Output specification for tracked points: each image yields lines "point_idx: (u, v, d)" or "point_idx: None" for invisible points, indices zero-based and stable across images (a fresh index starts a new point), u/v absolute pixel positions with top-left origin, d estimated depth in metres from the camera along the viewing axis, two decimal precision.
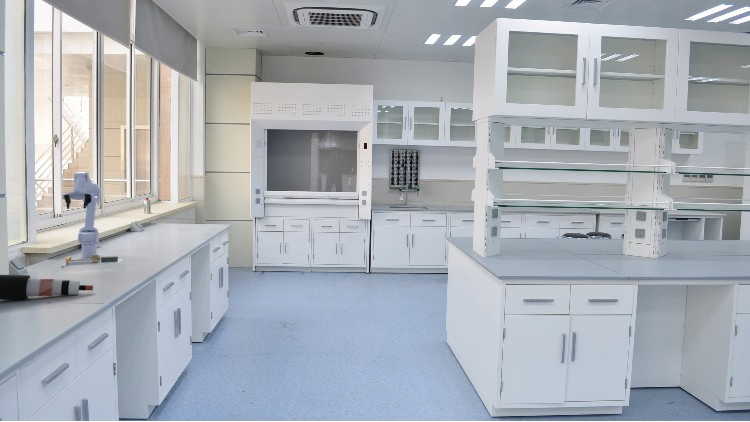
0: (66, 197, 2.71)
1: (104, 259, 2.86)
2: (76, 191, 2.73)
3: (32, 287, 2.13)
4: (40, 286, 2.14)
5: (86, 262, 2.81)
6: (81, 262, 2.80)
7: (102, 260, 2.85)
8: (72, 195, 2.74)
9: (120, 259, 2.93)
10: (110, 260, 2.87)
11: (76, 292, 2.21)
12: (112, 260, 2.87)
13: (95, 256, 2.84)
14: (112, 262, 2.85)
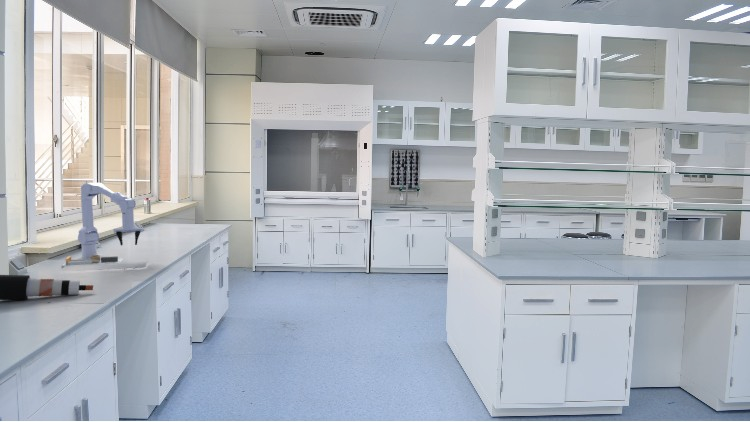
0: (119, 236, 2.86)
1: (104, 259, 2.86)
2: (126, 230, 2.86)
3: (32, 287, 2.13)
4: (40, 286, 2.14)
5: (86, 262, 2.81)
6: (81, 262, 2.80)
7: (102, 260, 2.85)
8: (123, 230, 2.87)
9: (120, 259, 2.93)
10: (110, 260, 2.87)
11: (76, 292, 2.21)
12: (112, 260, 2.87)
13: (95, 256, 2.84)
14: (112, 262, 2.85)
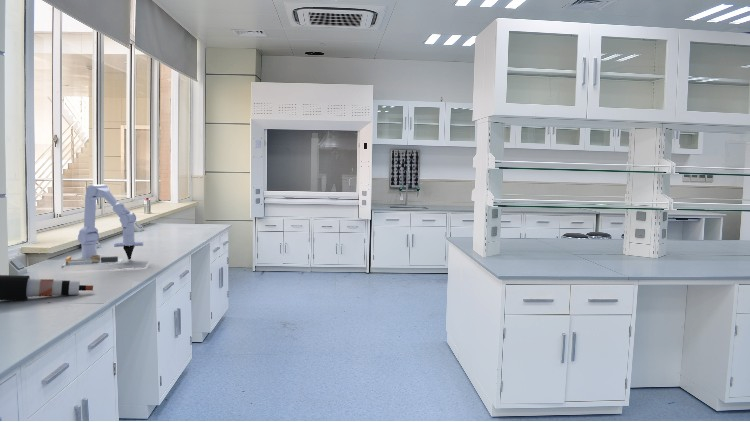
0: (126, 250, 2.88)
1: (104, 259, 2.86)
2: (127, 245, 2.87)
3: (32, 287, 2.12)
4: (40, 286, 2.14)
5: (86, 262, 2.81)
6: (81, 262, 2.80)
7: (102, 260, 2.85)
8: (123, 245, 2.88)
9: (120, 259, 2.93)
10: (110, 260, 2.87)
11: (76, 292, 2.21)
12: (112, 260, 2.87)
13: (95, 256, 2.84)
14: (112, 262, 2.85)
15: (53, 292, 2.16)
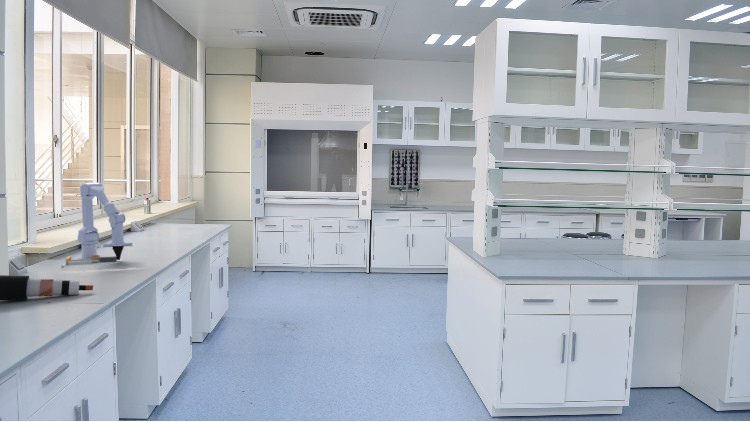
0: (115, 250, 2.86)
1: (103, 259, 2.85)
2: None
3: (32, 287, 2.12)
4: (40, 286, 2.14)
5: (86, 262, 2.81)
6: (81, 262, 2.80)
7: (101, 260, 2.85)
8: None
9: (120, 259, 2.93)
10: (109, 260, 2.86)
11: (76, 292, 2.21)
12: (111, 260, 2.87)
13: (95, 256, 2.84)
14: (112, 262, 2.85)
15: (53, 292, 2.16)
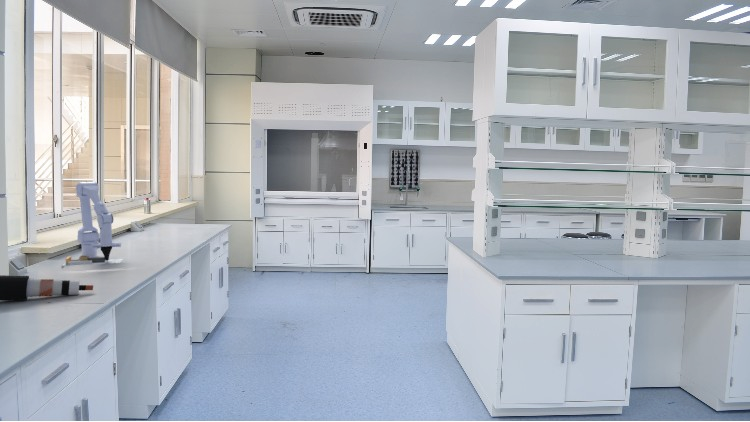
0: (103, 251, 2.84)
1: (91, 260, 2.84)
2: (104, 245, 2.83)
3: (32, 287, 2.12)
4: (40, 286, 2.14)
5: (86, 262, 2.81)
6: (81, 262, 2.80)
7: None
8: (101, 246, 2.85)
9: (120, 259, 2.93)
10: (97, 261, 2.85)
11: (76, 292, 2.21)
12: (99, 261, 2.85)
13: (84, 256, 2.82)
14: (112, 262, 2.85)
15: (53, 292, 2.16)
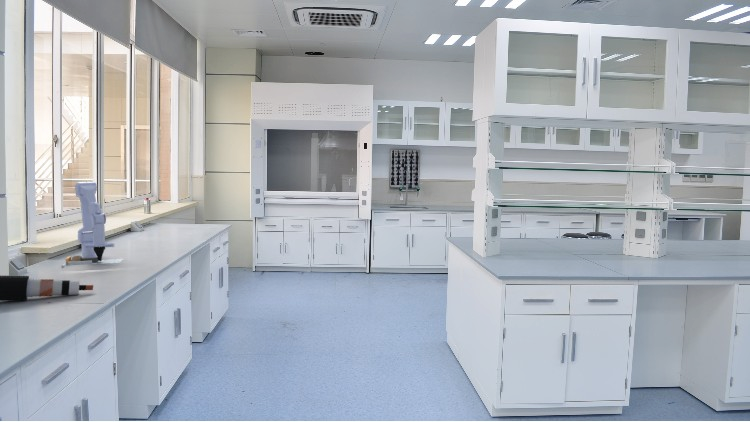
0: (96, 251, 2.83)
1: (84, 260, 2.83)
2: (97, 246, 2.82)
3: (32, 287, 2.12)
4: (40, 286, 2.14)
5: (86, 262, 2.81)
6: (81, 262, 2.80)
7: None
8: (93, 246, 2.84)
9: (120, 259, 2.93)
10: None
11: (76, 292, 2.21)
12: (92, 261, 2.84)
13: (77, 257, 2.81)
14: (112, 262, 2.85)
15: (53, 292, 2.16)
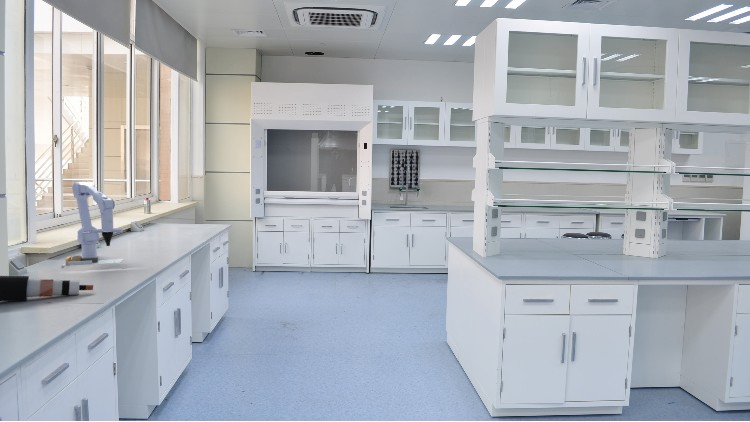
0: (104, 236, 2.84)
1: (84, 260, 2.83)
2: None
3: (33, 288, 2.12)
4: (41, 286, 2.13)
5: (86, 262, 2.81)
6: (81, 262, 2.80)
7: None
8: (102, 231, 2.85)
9: (120, 259, 2.93)
10: None
11: (77, 292, 2.21)
12: (92, 261, 2.84)
13: (77, 257, 2.81)
14: (112, 262, 2.85)
15: (53, 292, 2.16)
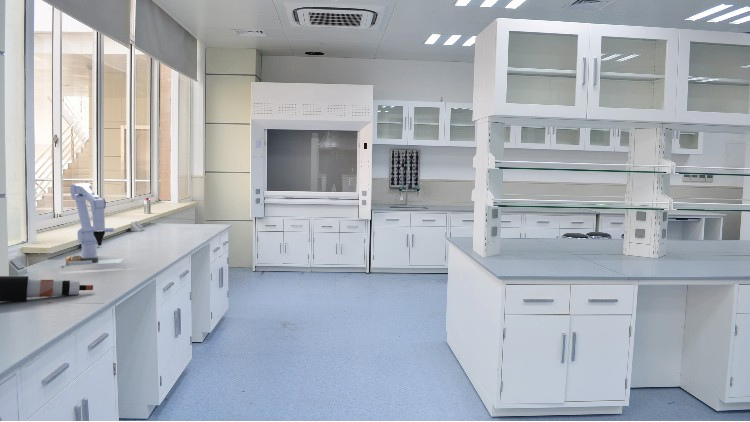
0: (96, 236, 2.85)
1: (84, 260, 2.83)
2: (97, 230, 2.84)
3: (33, 288, 2.12)
4: (41, 287, 2.13)
5: (86, 262, 2.81)
6: (81, 262, 2.80)
7: None
8: (93, 231, 2.86)
9: (120, 259, 2.93)
10: None
11: (77, 292, 2.21)
12: (92, 261, 2.84)
13: (77, 257, 2.81)
14: (112, 262, 2.85)
15: (54, 292, 2.16)
